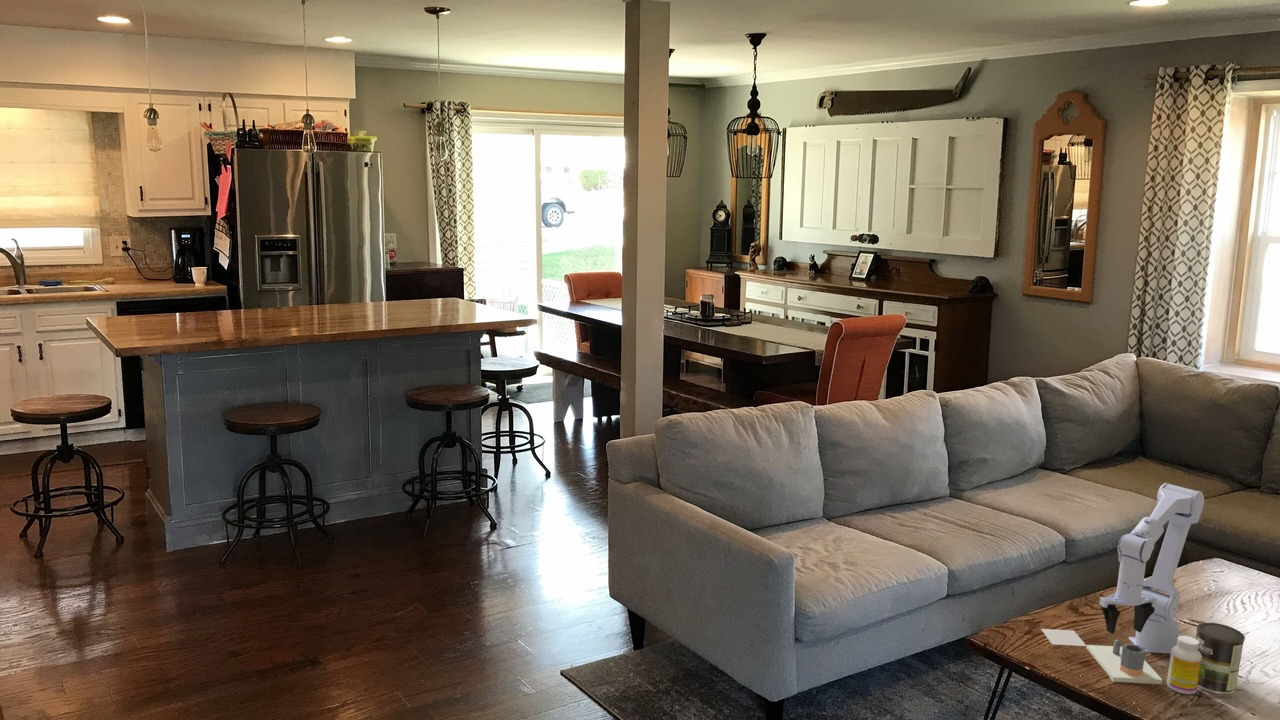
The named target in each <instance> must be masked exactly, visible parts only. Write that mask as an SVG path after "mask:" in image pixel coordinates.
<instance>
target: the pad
mask: <svg viewBox="0 0 1280 720" xmlns="http://www.w3.org/2000/svg"><path fill="white" fill-rule="evenodd" d="M1040 630H1041V632H1042V633H1043V634H1044V635H1045V637H1046V638H1047V640H1049V642H1050V643H1051V645H1054V646H1055V645H1057V646H1058V645H1060V646H1077V647H1086V646H1087V644H1086V643H1085V642H1084V640H1082V638H1081V637H1080V636H1079V634H1077V633H1076V631H1075V630H1071V629H1069V630H1068V629H1054V628H1053V629H1050V628H1049V629H1048V628H1040Z"/></svg>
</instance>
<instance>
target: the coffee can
mask: <svg viewBox="0 0 1280 720" xmlns="http://www.w3.org/2000/svg"><path fill="white" fill-rule="evenodd" d="M1195 639H1197V640H1198V641H1199V648H1198V649H1197V650H1198V651H1199V652H1200V653H1201V655H1202V660H1201V667H1200V674H1199V681H1198V687H1197V689H1201V690H1203V691H1205V692H1208V693H1212V694H1215V695H1223V696H1224V695H1225V696H1226V695H1232V694H1234V693H1236V691H1237V683H1238V677H1239V671H1240V665H1241V659H1242V653H1243V647H1244V642H1245V640H1246V636H1245V635H1244V633H1242V632H1241V631H1240V630H1238V629H1236V628H1234V627H1231V626H1230V625H1229V626H1228V625H1227V624H1226V625H1225V624H1222V623H1217V622H1201V623H1198V624H1197V626H1196V636H1195Z"/></svg>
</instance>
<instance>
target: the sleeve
mask: <svg viewBox="0 0 1280 720" xmlns="http://www.w3.org/2000/svg"><path fill="white" fill-rule="evenodd" d="M1121 647H1122V654H1121V662H1120V670H1121V671H1122V672H1124V673H1126V674H1129V675H1134V676H1138V675H1142V673H1143V665H1144V660H1145V656H1146V652H1145V649H1144V648H1142V647H1140V646H1139V645H1134V644H1133V643H1124V644H1122V646H1121Z"/></svg>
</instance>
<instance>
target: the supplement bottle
mask: <svg viewBox="0 0 1280 720" xmlns="http://www.w3.org/2000/svg"><path fill="white" fill-rule="evenodd" d="M1198 648H1199V641H1198V640H1197V639H1196V637H1191V636H1188V635H1178V639H1177V645H1176V646H1174V647H1173V648H1172V650H1171V654H1170V656H1169V657H1170V658H1169V663H1168V664H1169V665H1168V671H1167V676H1166V677H1167V678H1166V685H1167V686H1168V688H1169V689H1170V690H1172V691H1174V692H1175V693H1178V694H1182V695H1193V694H1195V693H1196V692H1197V691H1198V681H1199V674H1200V667H1201V660H1202V655H1201V653H1200V652H1199V651H1198V650H1197V649H1198Z"/></svg>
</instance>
